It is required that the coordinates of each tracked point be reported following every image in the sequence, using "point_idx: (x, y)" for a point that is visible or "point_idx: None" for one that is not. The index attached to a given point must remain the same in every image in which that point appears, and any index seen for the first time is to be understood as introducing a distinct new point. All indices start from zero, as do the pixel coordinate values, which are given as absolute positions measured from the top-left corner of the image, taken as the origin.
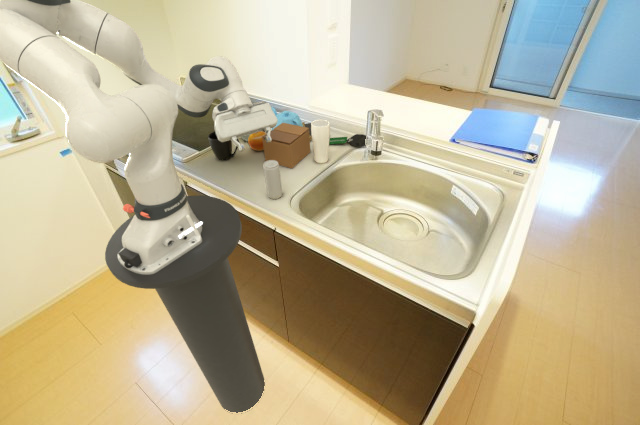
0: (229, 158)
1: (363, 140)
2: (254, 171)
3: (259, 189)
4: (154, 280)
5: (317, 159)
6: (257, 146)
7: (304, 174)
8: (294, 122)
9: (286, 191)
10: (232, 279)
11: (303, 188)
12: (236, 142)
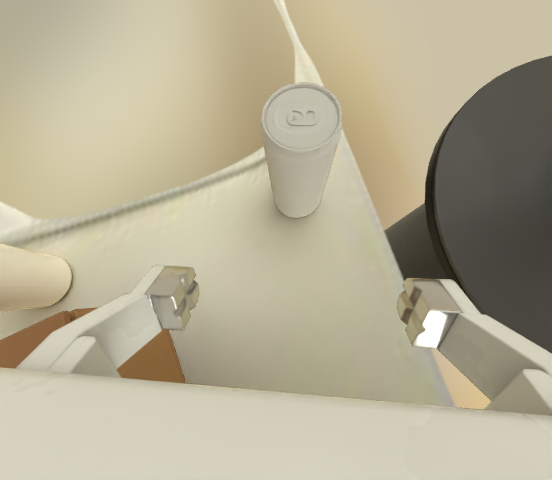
0: None
1: None
2: (278, 386)
3: (321, 259)
4: None
5: (59, 270)
6: None
7: (155, 242)
8: None
9: (257, 196)
10: (407, 221)
11: (209, 179)
12: (515, 333)
